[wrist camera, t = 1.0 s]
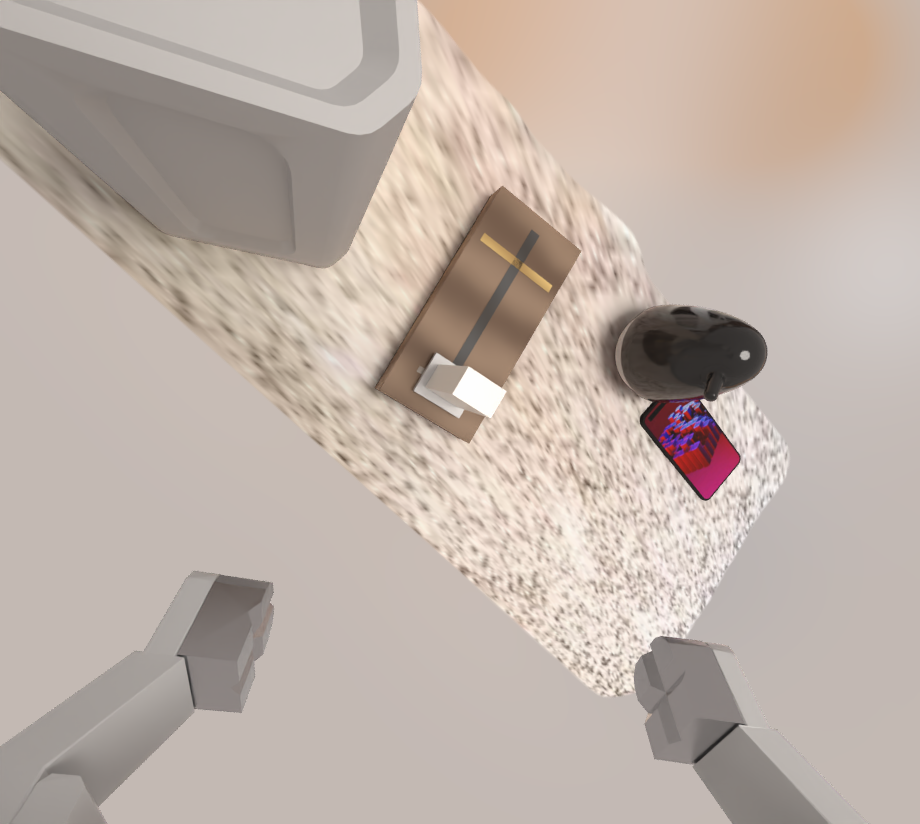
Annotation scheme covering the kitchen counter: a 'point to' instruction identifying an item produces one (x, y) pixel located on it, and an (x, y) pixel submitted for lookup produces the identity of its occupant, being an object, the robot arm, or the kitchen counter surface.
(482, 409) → the fader tab
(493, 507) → the kitchen counter surface
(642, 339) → the pump dispenser
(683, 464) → the smartphone
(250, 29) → the grey box
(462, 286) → the board
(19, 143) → the kitchen counter surface
